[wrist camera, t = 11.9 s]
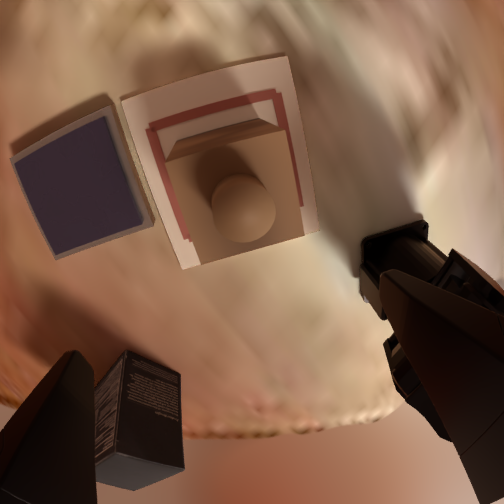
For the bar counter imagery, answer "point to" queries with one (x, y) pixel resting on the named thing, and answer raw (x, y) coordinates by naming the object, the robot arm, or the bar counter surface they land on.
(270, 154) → the stamp
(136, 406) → the small box
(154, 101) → the print sheet
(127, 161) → the ink pad
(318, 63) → the bar counter surface
